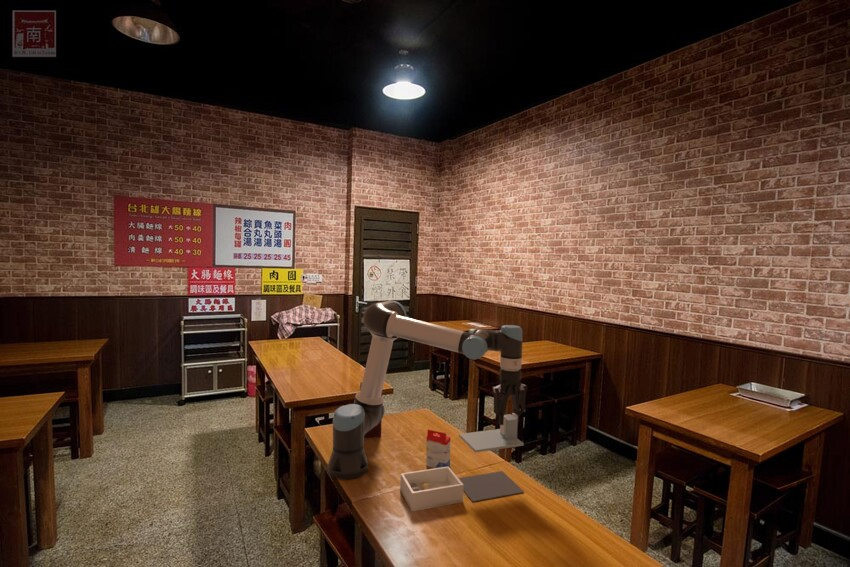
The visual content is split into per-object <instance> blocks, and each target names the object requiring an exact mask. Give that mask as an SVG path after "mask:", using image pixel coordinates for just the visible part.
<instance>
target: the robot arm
mask: <svg viewBox="0 0 850 567" xmlns="http://www.w3.org/2000/svg"><path fill="white" fill-rule="evenodd" d="M362 320H363V321H362V322H363V325H364V327H365V328H366V330H368V332H369V333H370V334H371V336H372V337H371V342H370V346H369V351H368V355H367V360H366V364H365V368H364V374H363V378H362V381H361V382H362V386H361V390H360V389H359V391H358V392H356V394H355V396H354V401H353V403H348V404H346V405H341V406H339V407H338V408H336V409H335V411H334V412H333V416H332V418H333V419H332V452H331V453H330V456H329V460H328V464H327V475H329V476H330V477H332V478H334V479H336V480H337V479H338V480H347V481H348V480H355V479H358V478H361V477H362V476H364V475H366V473H368V471H369V462H368V458H367V455H366V451H365V446H364V445H365V439H364V435H365V434H366V433H367V432H368V431H370V430H371V429H372V428H374V427H375V426H377V425H378V424H379V423H380V421H381V420H383V418H384V416H385V406H384V398H383V395H382V396H381V393H382V394H383V389H384V383H385V379H386V374H387V372H388V366H389V361H390V358H391V353H392V350H393V343H394V341H395V340H397V339H398V338H401V339H405V340H409V341H413V342H417V343H420V344H424V345H428V346H431V347H436V348H440V349H443V350H446V351H447V350H448V351H450V352H455V353H459V354H462V355H464V356H465V357H466V358H468V359H470V360H478V359H481V358H483V357H484V356H485V355H486V353H487V352H488V351H492V352H500V360H499V367H500V369H499V383H498V385H496V386H492V388H491V389H492V393H493V413H494V414H495V415H497V416H498V425H499V429H500V432H501V433H502V434H503V435H506V416H505V415H506V410H507V406H508V405H507V404H508V400H509V398H510V397H511V400H512V408H513V412H511V415H512V416H514V417H515V418H517V419H518V424H519V423H520V416H521V415H522V413H525V410H526V409H525V408H526V396H527V392H528V385H526V384H524V383H522V382H521V380H522V370H521V369H522V359H523V358H522V357H523V342H524V341H523V340H524V339H523V328H522V327H521V326H519V325H513V324H504V325H502V326H501V328H500V329H499V330H495V329H485V328H470V329H469V330H468V332H467V331H464V330H460V329H456V328H452V327H448V326H443V325H439V324H436V323H432V322H427V321H424V320H420V319H419V320H418V319H416V318H415V319H414V318H412V317H408V316H407V311H406V309H405V307H404V306H403V304H401V303H400V302H398V301H396V300H385V301H381V302H376V303H372V304H370V305H369V306H368V307H366V309H365V311H364V313H363V317H362Z"/></svg>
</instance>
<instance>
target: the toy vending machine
mask: <svg viewBox="0 0 850 567" xmlns="http://www.w3.org/2000/svg"><path fill="white" fill-rule="evenodd" d="M361 386H362V381H361V382H360V384H359V391H360V390H361ZM381 396H382V397H383V392H382V393H381ZM382 420H383V419H382ZM382 420H381V421H380V423H379V424H378V425H377V426H375V427H374V428H372V429H371V430H370V431H368V432H367V433H366V434H365V435H364V440H365V439H375V438H378V439H379V438H382Z"/></svg>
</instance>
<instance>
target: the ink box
mask: <svg viewBox="0 0 850 567" xmlns="http://www.w3.org/2000/svg"><path fill="white" fill-rule="evenodd" d="M426 433H427V435H426V449H425V450H426V460H425V463H426V464H425V465H426V467H429V468H431V469H434V468H441V467H447V466H449V467H450V466H451V436H449V435H447V432H442V431H438V430H434V429H433V430H432V429H427V431H426Z"/></svg>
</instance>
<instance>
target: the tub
mask: <svg viewBox="0 0 850 567" xmlns="http://www.w3.org/2000/svg"><path fill="white" fill-rule="evenodd" d="M458 478H459V477H458V476H457V474H456V473H454V471H453V470H452V468H450V466H447V467H441V468H428V469H423V470H422V469H421V470H416V471H408V472H403V473H400V483H399V486H400V487H399V488H400V494H402V496H403V498H404V500H405V502H406V504H407V506H408V507H409V509H410V512H417V511H423V510H429V509H434V508H440V507H444V506H450V505H455V504H459V503H460V504H461V503H463V502H464V491H463V487H464V485H463V483H462V482H461V481H460V480H459V479H458Z"/></svg>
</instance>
